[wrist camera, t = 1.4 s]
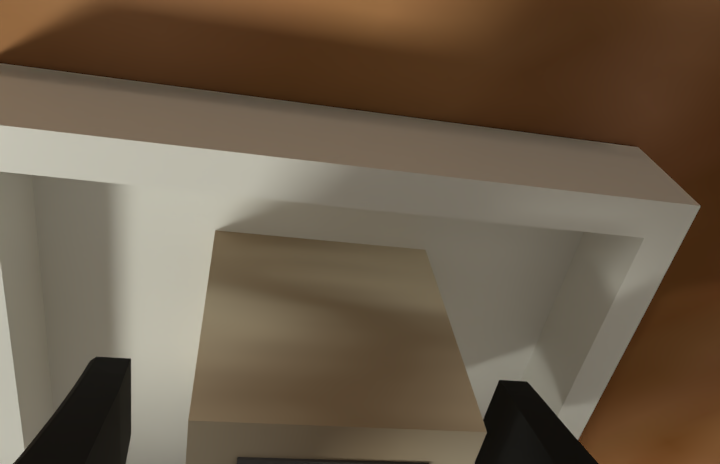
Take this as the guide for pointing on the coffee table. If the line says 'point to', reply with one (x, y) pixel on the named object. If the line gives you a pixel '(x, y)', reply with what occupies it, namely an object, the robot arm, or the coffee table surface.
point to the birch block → (327, 358)
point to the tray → (304, 237)
